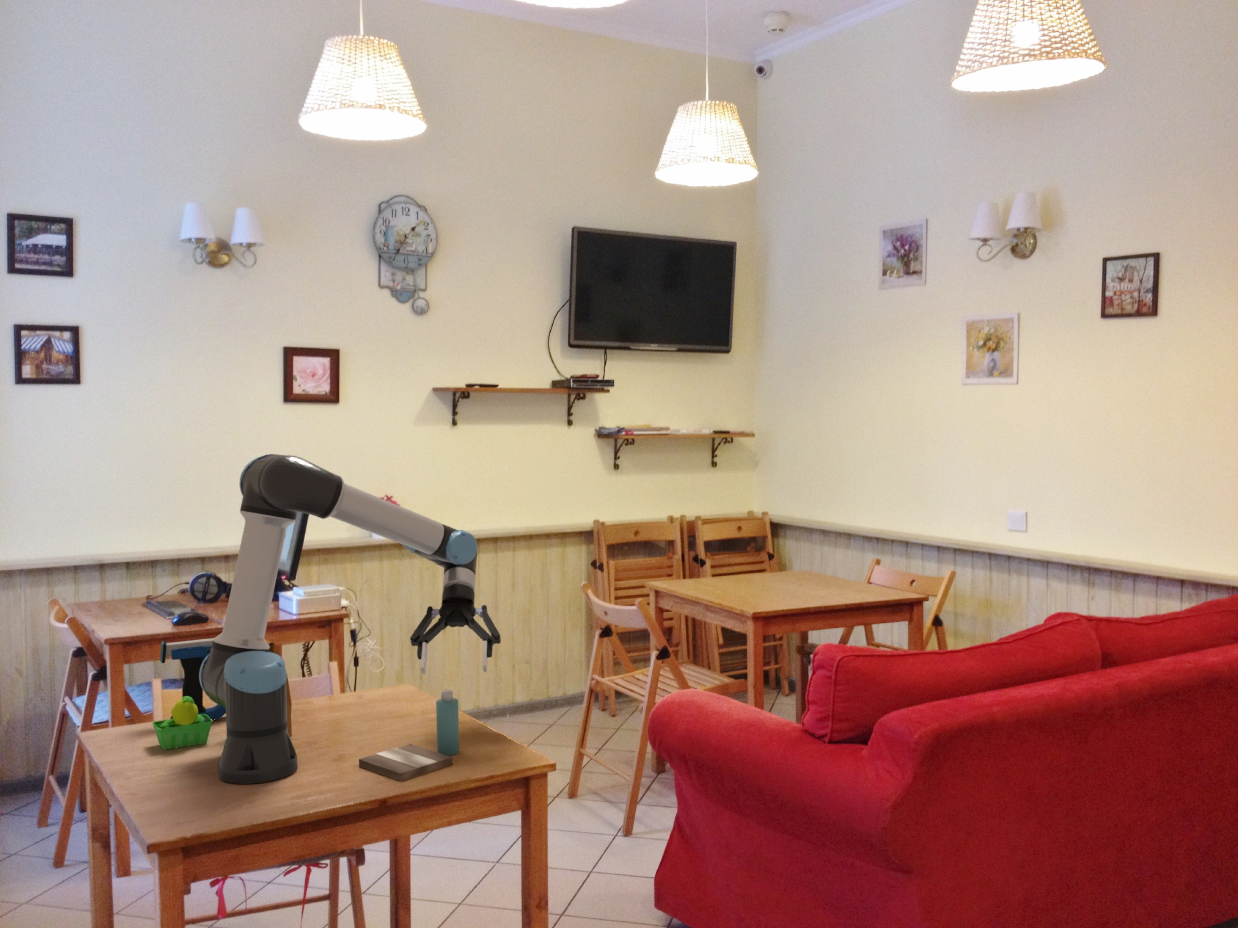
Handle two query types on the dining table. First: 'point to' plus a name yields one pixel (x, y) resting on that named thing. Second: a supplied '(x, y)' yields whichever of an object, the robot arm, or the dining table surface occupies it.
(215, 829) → the dining table surface
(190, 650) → the handheld scanner
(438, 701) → the teal bottle with cap
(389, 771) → the brown cream striped panel
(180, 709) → the fruit basket
